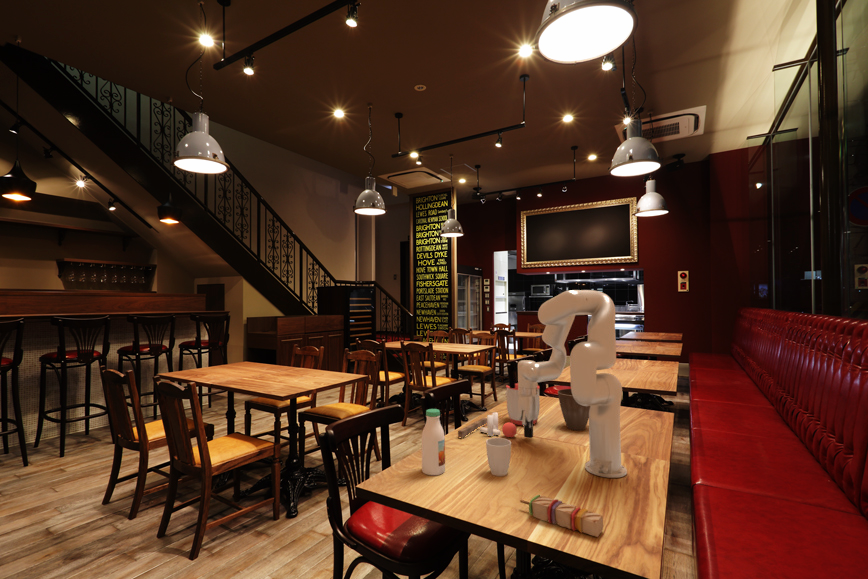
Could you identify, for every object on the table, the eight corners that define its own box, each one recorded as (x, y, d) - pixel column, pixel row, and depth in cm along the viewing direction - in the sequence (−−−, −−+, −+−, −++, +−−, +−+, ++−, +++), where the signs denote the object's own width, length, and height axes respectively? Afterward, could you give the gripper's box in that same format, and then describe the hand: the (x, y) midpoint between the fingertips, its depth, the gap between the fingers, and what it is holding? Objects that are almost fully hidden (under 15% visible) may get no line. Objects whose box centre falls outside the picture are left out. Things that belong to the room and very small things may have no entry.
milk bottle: (431, 478, 129) (431, 414, 130) (417, 470, 135) (416, 409, 136) (450, 471, 134) (449, 410, 135) (435, 465, 140) (434, 406, 141)
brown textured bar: (462, 439, 168) (462, 431, 168) (458, 438, 169) (458, 430, 169) (487, 424, 188) (487, 418, 188) (483, 424, 189) (483, 417, 189)
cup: (515, 471, 134) (514, 440, 135) (506, 480, 127) (505, 447, 128) (492, 466, 138) (491, 436, 139) (482, 475, 131) (482, 443, 132)
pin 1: (491, 437, 169) (491, 416, 170) (486, 436, 171) (486, 415, 171) (494, 435, 171) (493, 415, 172) (489, 434, 173) (488, 414, 173)
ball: (498, 424, 169) (501, 439, 168) (511, 423, 166) (514, 438, 165) (504, 421, 174) (507, 436, 173) (517, 420, 171) (520, 435, 170)
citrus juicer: (518, 415, 203) (517, 375, 204) (547, 423, 189) (546, 379, 190) (496, 421, 193) (496, 378, 194) (525, 429, 180) (524, 384, 181)
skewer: (605, 530, 98) (604, 509, 99) (596, 543, 93) (596, 520, 94) (526, 505, 112) (526, 486, 112) (515, 514, 107) (514, 495, 107)
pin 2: (496, 434, 174) (496, 414, 174) (491, 433, 175) (491, 413, 175) (499, 432, 176) (498, 412, 176) (494, 431, 177) (493, 412, 177)
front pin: (497, 431, 171) (479, 428, 175) (498, 436, 171) (479, 433, 175) (500, 429, 173) (482, 426, 177) (500, 434, 173) (482, 431, 177)
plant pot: (591, 435, 171) (589, 396, 171) (555, 430, 178) (554, 393, 179) (596, 426, 183) (595, 390, 184) (562, 422, 191) (561, 387, 192)
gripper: (525, 387, 174) (526, 430, 173) (511, 393, 161) (512, 440, 160) (542, 389, 170) (543, 433, 169) (530, 395, 157) (531, 443, 156)
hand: (528, 437), depth 165 cm, fingers closed
